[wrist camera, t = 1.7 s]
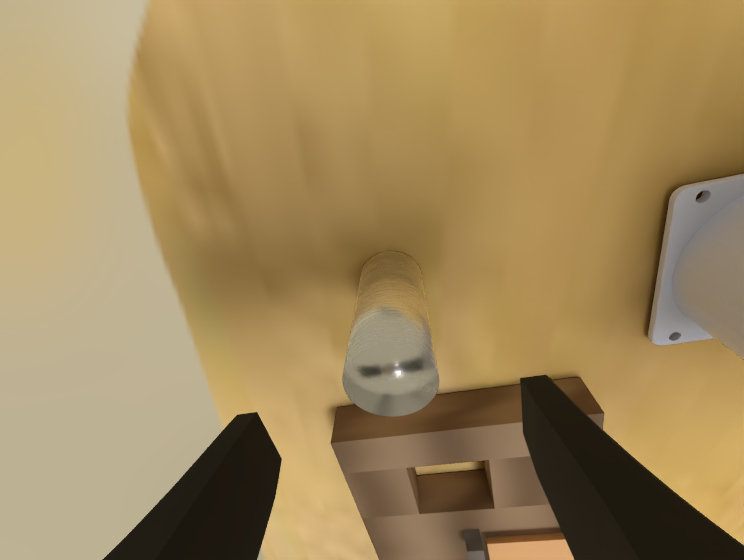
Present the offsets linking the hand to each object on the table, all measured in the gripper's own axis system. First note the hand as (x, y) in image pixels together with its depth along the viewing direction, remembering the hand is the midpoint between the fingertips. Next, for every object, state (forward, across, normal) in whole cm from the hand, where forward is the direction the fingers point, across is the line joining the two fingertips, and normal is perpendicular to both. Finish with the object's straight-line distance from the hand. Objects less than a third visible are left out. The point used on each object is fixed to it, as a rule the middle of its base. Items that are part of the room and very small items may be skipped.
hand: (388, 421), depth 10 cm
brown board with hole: (+8, -2, +16) cm, 18 cm away
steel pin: (+8, 0, 0) cm, 8 cm away
